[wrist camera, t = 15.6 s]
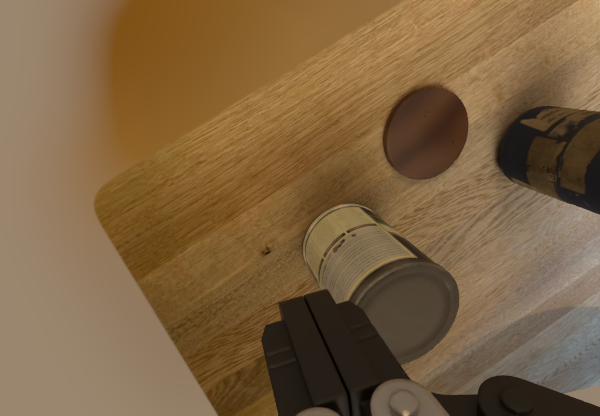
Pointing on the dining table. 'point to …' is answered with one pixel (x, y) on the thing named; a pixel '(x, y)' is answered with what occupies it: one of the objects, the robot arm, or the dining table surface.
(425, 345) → the coffee can
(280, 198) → the dining table surface
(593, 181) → the canister
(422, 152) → the dark brown wooden coaster
